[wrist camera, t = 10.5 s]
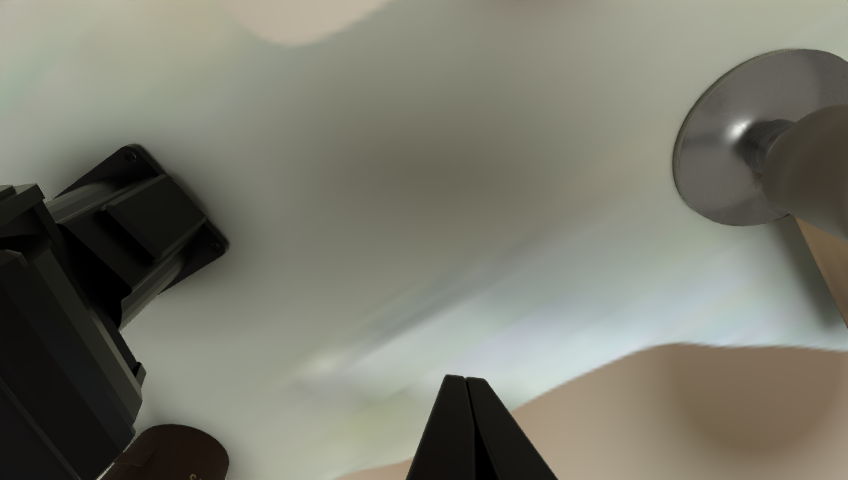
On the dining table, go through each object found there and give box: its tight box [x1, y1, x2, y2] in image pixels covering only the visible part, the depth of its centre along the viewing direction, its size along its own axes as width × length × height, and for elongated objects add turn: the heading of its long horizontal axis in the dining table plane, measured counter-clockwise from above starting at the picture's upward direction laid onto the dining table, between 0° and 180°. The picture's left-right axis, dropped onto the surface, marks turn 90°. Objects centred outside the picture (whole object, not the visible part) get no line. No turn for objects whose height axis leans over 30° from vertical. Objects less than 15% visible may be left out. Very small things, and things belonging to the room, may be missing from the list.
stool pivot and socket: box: [673, 49, 848, 226], centre depth 19 cm, size 11×17×4 cm, turn 31°
